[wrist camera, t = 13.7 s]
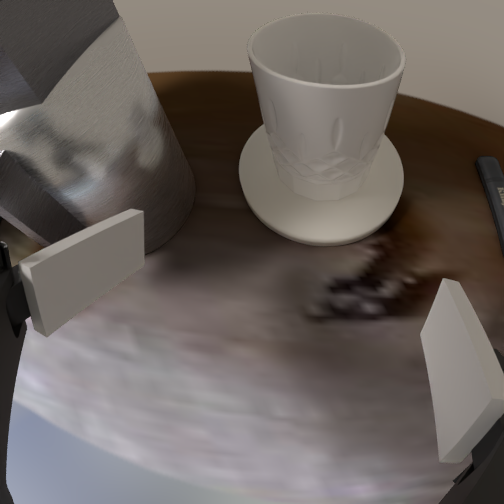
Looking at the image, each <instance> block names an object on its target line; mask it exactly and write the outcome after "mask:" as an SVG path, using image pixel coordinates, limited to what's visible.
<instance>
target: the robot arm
mask: <svg viewBox="0 0 504 504" xmlns="http://www.w3.org/2000/svg"><path fill="white" fill-rule="evenodd" d="M1 219H2V217H1V216H0V221H1ZM143 266H145V259H144V211H140V210H135V209H129V210H127V211H124V212H122V213H120V214H117V215H115V216H113V217H110V218H108V219H106V220H104V221H101V222H99V223H97V224H95V225H92V226H90V227H88V228H86V229H84V230H82V231H79V232H77V233H75V234H73V235H71V236H69V237H67V238H65V239H63V240H61V241H58V242H56V243H54V244H52V245H50V246H48V247H46V248H44V249H42V250H40V251H38V252H36V253H34V254H32V255H30V256H28V257H27V258H25V259H23V260H21V261H19V262H18V265H16V266H14V267H11V262H10V257H9V251H8V246H7V244H6V243H5V242H2V241H0V504H14V502H13V499H12V496H11V494H10V492H9V490H8V488H7V484H6V460H7V444H8V432H9V423H10V414H11V407H12V400H13V393H14V387H15V381H16V376H17V370H18V365H19V361H20V356H21V351H22V347H23V343H24V338H25V334H26V330H27V325H26V322H25V320H26V319H27V318H29V317H30V316H31V319H32V323H33V326H34V329H35V330H36V331H37V332H39V333H41V334H42V335H44V336H45V337H48V336H49V335H51V334H52V333H53V332H55V331H56V330H57V329H58V328H60V327H61V326H62V325H64V324H65V323H66V322H68V321H69V320H70V319H72V318H73V317H74V316H76V315H77V314H78V313H80V312H81V311H82V310H84V309H85V308H86V307H88V306H89V305H90V304H92V303H93V302H94V301H96V300H97V299H98V298H100V297H101V296H103V295H104V294H105V293H107V292H108V291H109V290H111V289H112V288H114V287H115V286H116V285H118V284H119V283H121V282H122V281H123V280H125V279H126V278H128V277H129V276H130V275H132V274H133V273H135V272H136V271H137V270H139V269H140V268H142V267H143ZM420 336H421V341H422V345H423V350H424V355H425V360H426V366H427V371H428V377H429V382H430V388H431V395H432V401H433V408H434V416H435V424H436V433H437V443H438V454H439V463H461V462H462V461H463V460H464V459H465V458H466V457H467V456H468V455H469V453H470V452H472V459H473V462H472V463H471V464H470V465H469V466H468V467H467V468H466V469H465V470H464V471H463V472H462V473H461V474H460V475H459V476H458V477H457V478H456V479H454V480H453V482H454V483H455V484H454V485H453V487H452V488H451V489H450V491H449V492H448V493H447V494H446V496H445V497H444V498H443V499H442V500H441V502H440V503H439V504H504V357H503V356H502V355H501V353H500V352H499V351H498V350H497V349H493V348H492V346H491V344H490V341H489V339H488V337H487V335H486V333H485V331H484V329H483V327H482V325H481V323H480V321H479V319H478V317H477V315H476V313H475V311H474V309H473V307H472V305H471V303H470V301H469V300H468V298H467V296H466V294H465V292H464V290H463V289H462V287H461V285H460V283H459V282H457V281H453V280H449V279H445V278H443V279H442V282H441V285H440V287H439V290H438V293H437V295H436V298H435V300H434V303H433V305H432V308H431V310H430V313H429V315H428V317H427V320H426V322H425V324H424V327H423V329H422V331H421V333H420Z"/></svg>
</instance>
